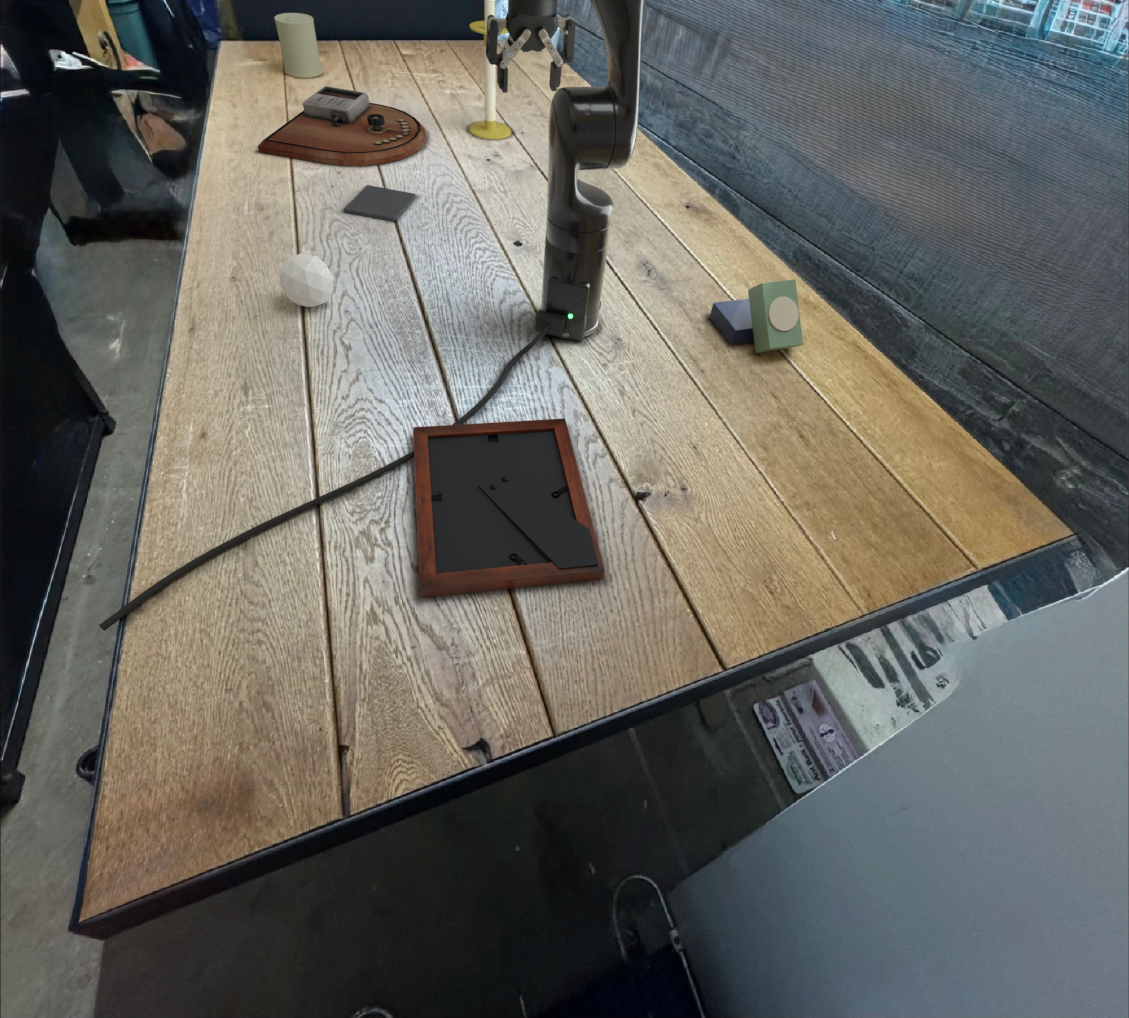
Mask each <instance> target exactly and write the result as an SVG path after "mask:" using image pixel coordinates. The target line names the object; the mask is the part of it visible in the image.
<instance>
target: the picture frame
mask: <svg viewBox="0 0 1129 1018" xmlns="http://www.w3.org/2000/svg"><path fill="white" fill-rule="evenodd" d="M412 431H413V432H412V433H413V434H412V436H413V451H414V457H413V459H414V481H415V505H416V507H415V508H416V525H417V526H416V529H417V551H418V553H417V554H418V574H419V575H418V577H419V591H420V598H421V599H423V598H424V599H425V598H432V597H433V598H434V597H444V596H452V595H462V594H463V595H464V594H472V593H473V594H474V593H480V592H481V593H483V592H493V591H501V590H512V589H521V588H530V587H539V586H549V585H559V584H569V583H570V584H571V583H577V582H578V583H579V582H588V581H598V580H603V579H604V576H605V571H606V570H605V565H604V562H603V558H602V555H601V554H602V553H601V549H600V547H599V543H598V539H597V535H596V531H595V527H594V524H593V519H592V516H591V512H590V509H589V505H588V501H587V497H586V492H585V488H584V485H583V482H582V478H581V474H580V470H579V466H578V463H577V460H576V455H575V451H574V448H573V443H572V440H571V435H570V432H569V429H568V424H567V420H566V418H565V417H564V418H546V419H533V420H532V419H530V420H514V421H511V420H510V421H497V422H480V423H479V422H478V423H463V424H460V425H453V424H447V425H446V424H445V425H430V426H429V425H426V426H413V427H412Z"/></svg>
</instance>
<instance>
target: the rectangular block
mask: <svg viewBox="0 0 1129 1018" xmlns="http://www.w3.org/2000/svg"><path fill="white" fill-rule="evenodd" d="M709 319H710V320H711V321H712V323H713V324H714V325H715V326H716V328H717V329H718V330H719V332H720V333H721V334H722V336H723V337H724V338H725V340H726V341H728V343H729V344H730V345H731V346H734V345H742V344H749V343H754V335H753V327H752V319H751V311H750V303H749V298H741V299H734V300H724V301H717V302H713V303H712V307H711V310H710V313H709Z"/></svg>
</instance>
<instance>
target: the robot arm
mask: <svg viewBox="0 0 1129 1018" xmlns="http://www.w3.org/2000/svg"><path fill="white" fill-rule="evenodd" d="M589 2H590V4H591V6H592V8H593V11H594V13H595V16H596V18H597V21H598V24H599V27H600V30H601V34H602V36H603V41H604V46H605V51H606V59H607V82H606V86H564V87H560V86H561V81H562V80H561V79H562V69H563V66H564V65H565V64H568V63H569V64H571V63H573V62H574V60H575V45H576V22H575V20H574V19H573V17H572V16H571V14H568V13H567V14H565V15H564V17H558V16H557V12H558V0H507V13H506V16H505V18H501V17H496V16H495V17H494V16H493V15H489V16H488V18H487V37H486V56H487V59H488V61H489V63H490V64H491V65H496V83H497V86H498V88H499V90H500V91H501V92H502V93H503V94H507V93H508V90H509V89H508V88H509V68H508V66H509V64H510V63H511V61H512V59H514V58H516V56H518V54H519V52H520V51H522V53H529V52H531V51H533V52H538V53H539V52H542V51H543V50H544V49H546V50H547V52H548V53H549V55H550V57H551V59H552V61H550V68H549V80H548V81H549V82H548V85H549V89H550V91H551V92H555V93H554V95H553V97H552V99H551V102H550V108H549V116H548V165H547V166H548V168H547V170H548V171H547V207H546V221H545V222H546V223H545V224H546V225H545V239H544V253H543V254H544V255H543V269H542V271H543V272H542V287H541V288H542V289H541V303H540V304H541V305H540V309H538V311H537V313H536V315H535V325H534V332H536V333H538V334H537V335H536V336H534V338H533V339H532V340H530V342H529V343H528V344H527V345H525V346H524V347H523V348H522V349H520V350H519V351H518V352H516V354H514V356H513V357H512V358H511V359H510V360H509V362H508V363H507V364H506V365H505V367H504V369H503V371H502V372H501V373H500V376H499V377H498V379H497V381H495V383H494V384H493V386H492V387H491V388H490V389H489V390H488V392H486V394H485V395H484V396H483V397H482V398H481V399H480V400H479V401H478V402H477V403H476V404H475V405H474V406H473V407H472V408H470V409H469V410H468V411H467V412H466V413H465V414H463V415H462V416H461V417H460V418H459V419H458V420H457V421H455V422H454V423H452V425H460V424H465V422H467V421H468V420H469V419H470V418H471V417H473V416H474V415H475V414H476V413H477V412H478V411H479V410H480V409H481V408H483V406H484V405H485V404H486V403H487V402H488V401H489V400H491V398H492V397H493V395H495V393H496V392H497V391H498V390H499V389H500V387H501V386H502V384H503V383H504V382H505V380H506V378H507V376H508V374H509V373H510V371H511V369H512V368H513V367H514V365H515V364H516V363H517V362H518V361H519V360H520V358H521V357H523V356H524V355H525V354H527V352H529V351H530V350H531V349H532V348H534V347H535V345H537V343H539V341H540V340H541V339H543V337H544V336H545V335H546V336H552V337H556V338H562V339H567V340H571V341H577V342H583V341H584V339H585V338H586V337H590V336H591V335H592V334H594V333H595V332H596V330H597V329H598V327H599V320H600V318H599V314H600V310H601V306H602V301H601V299H602V293H603V286H604V280H605V279H604V278H605V270H606V264H607V257H608V249H609V241H610V235H611V227H612V221H613V215H614V202H613V199H612V197H611V196H610V195H609V194H608V193H607V192H606V191H605V190H603V189H601V188H599V187H598V186H595V185H593V184H590V183H587V182H586V181H583V180H581V179H579V178H578V173H579V171H593V170H594V171H596V170H601V171H602V170H617V169H622V168H625V167H626V166H627V165H628V164H629V163H630V161H631V160H632V156H633V154H634V151H635V147H636V143H637V142H636V141H637V135H638V134H637V133H638V126H639V110H640V92H641V72H642V70H641V69H642V50H643V35H644V24H645V23H644V22H645V15H646V13H645V12H646V4H647V0H589ZM504 28H506V29H507V31H508V36H507V37H506V39H505V40H504V43H503V46H502V47H501V49H500V51H499V52H498V40H499V39H498V38H499V37H500V36H501V35H502V34H501V33H502V30H503V29H504ZM559 28H560V29H559ZM558 29H559V30H560V32H561V33H562V35H563V37H562V38H563V40H562V51H560V52H559V51H558V50H557V48H556V46H555V45H554V43H553V42H552V39H553V37H554V35H555V34H556V32H557V31H558ZM412 459H414V450H412V451H410V452H408V453H406V454H405V455H403V456H401V457H399V458H397V459H396V460H394V461H391V462H390V463H388V464H386V465H384V466H382V467H379V468H378V469H376V470H374V471H372V472H369V473H368V474H365V475H364V476H362V477H360V478H358V479H355V480H353V481H352V482H349V483H347V484H345V485H342V486H340V487H338V488H336V489H334V490H332V491H328V492H327V493H324V494H322V495H320V496H317V497H316V498H314V499H312V500H310V501H308V502H305V503H303V504H301V505H299V506H297V507H295V508H292V509H290V510H287V511H286V512H284V513H280V514H278V515H277V516H275V517H272V518H270V519H269V520H266V521H264V522H261V523H259V524H258V525H256V526H253V527H252V528H250V529H247V530H246V531H244V532H242V533H240V534H238V535H235V536H234V537H232V538H230V539H229V540H227V541H225V542H223V543H221V544H219V545H217V546H215V547H214V548H212V549H210V550H208V551H206V552H204V553H202V554H201V555H199V556H197V557H195V558H194V559H192V560H191V561H188V562H187V563H185V564H184V565H182V566H180V567H178V568H177V569H176V570H174V571H172V572H171V573H170V574H167V575H166V576H165V577H163V578H162V579H160V580H159V581H157V582H155V583H154V584H153V585H151V586H149V588H147V589H146V590H144V591H143V592H141V593H140V594H139V595H137V596H136V597H134V599H132V600H130V601H129V602H128V603H126V605H124V606H123V607H121V608H120V609H119V610H117V611H116V612H115V613H113V614H112V615H110V616H108V618H106V619H105V620H104V621H102V622H101V623H100V624H98V627H100V628H101V630H102V631H107V630H108V629H109V628H110V627H112V626H113V625H115V624H116V623H117V622H118V621H120V620H121V619H122V618H124V617H125V616H127V615H128V614H129V613H130V612H132V611H134V609H136V608H137V607H139V606H140V605H141V604H142V603H144V602H145V601H146V600H148V599H149V598H151V597H152V596H153V595H155V594H156V593H157V592H159V591H160V590H161V589H164V588H165V587H167V586H168V585H169V584H171V583H172V582H174V581H175V580H177V579H179V578H180V577H182V576H183V575H184V574H187V573H188V572H190V571H191V570H193V569H195V568H196V567H198V566H200V565H201V564H203V563H204V562H207V561H208V560H210V559H212V558H213V557H216V556H217V555H219V554H221V553H223V552H225V551H227V550H228V549H230V548H233V547H234V546H236V545H238V544H239V543H242V542H243V541H245V540H247V539H249V538H252V537H253V536H255V535H257V534H259V533H261V532H263V531H265V530H267V529H269V528H271V527H274V526H276V525H277V524H280V523H282V522H284V521H286V520H288V519H291V518H292V517H295V516H297V515H299V514H301V513H304V512H305V511H309V510H310V509H312V508H315V507H316V506H318V505H321V504H323V503H325V502H327V501H329V500H331V499H333V498H336V497H338V496H341V495H343V494H345V493H347V492H350V491H351V490H354V489H356V488H357V487H360V486H361V485H364V484H366V483H368V482H370V481H372V480H374V479H376V478H378V477H380V476H382V475H384V474H386V473H388V472H390V471H391V470H393V469H396V468H398V467H400V466H401V465H403V464H405V463H406V462H408V461H410V460H412Z"/></svg>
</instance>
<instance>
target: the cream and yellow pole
mask: <svg viewBox="0 0 1129 1018" xmlns="http://www.w3.org/2000/svg"><path fill="white" fill-rule="evenodd" d="M495 10H496V0H484V20H477V21H473V22H471V23H469V28H470V30H471V31H473V32H474V33H478V34H482V35H483V68H484V69H483V74H484V77H483V78H484V82H483V84H484V121H478V122H474V123H473V124H470V126H469V127H468V132H469V133H470V134H471V135H473V136H475V137H476V138H480V139H485V140H500V139H501V140H502V139H506V138H508V137H510V136H511V134H512V130H511V127H509V126H508V125H507V124H504V123H501V122H498V121H497V118H496V117H497V116H496V115H497V114H496V110H497V109H496V107H497V105H496V104H497V101H496V100H497V99H496V98H497V95H496V94H497V93H496V92H497V91H496V90H497V89H496V88H497V87H496V83H497V65H491V64H490V63H489V61H488V59H487V56H486V37H487V18H488V16H489V15H493V16H494V17H495V18H496V11H495ZM505 34H509V32H508V31H507V29H506V28H504V29H503V30H502V33H501V35H505Z"/></svg>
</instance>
